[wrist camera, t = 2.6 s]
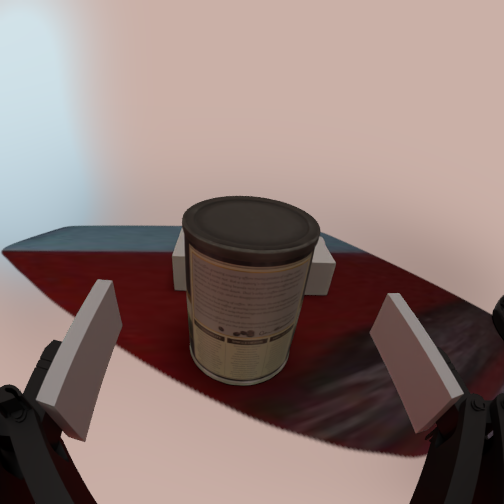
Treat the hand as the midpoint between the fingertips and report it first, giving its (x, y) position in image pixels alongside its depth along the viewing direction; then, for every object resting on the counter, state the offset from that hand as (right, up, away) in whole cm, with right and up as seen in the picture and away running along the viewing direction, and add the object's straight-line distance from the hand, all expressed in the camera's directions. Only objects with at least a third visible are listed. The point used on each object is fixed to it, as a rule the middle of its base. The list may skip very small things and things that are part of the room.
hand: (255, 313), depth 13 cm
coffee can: (-1, -7, +15) cm, 17 cm away
